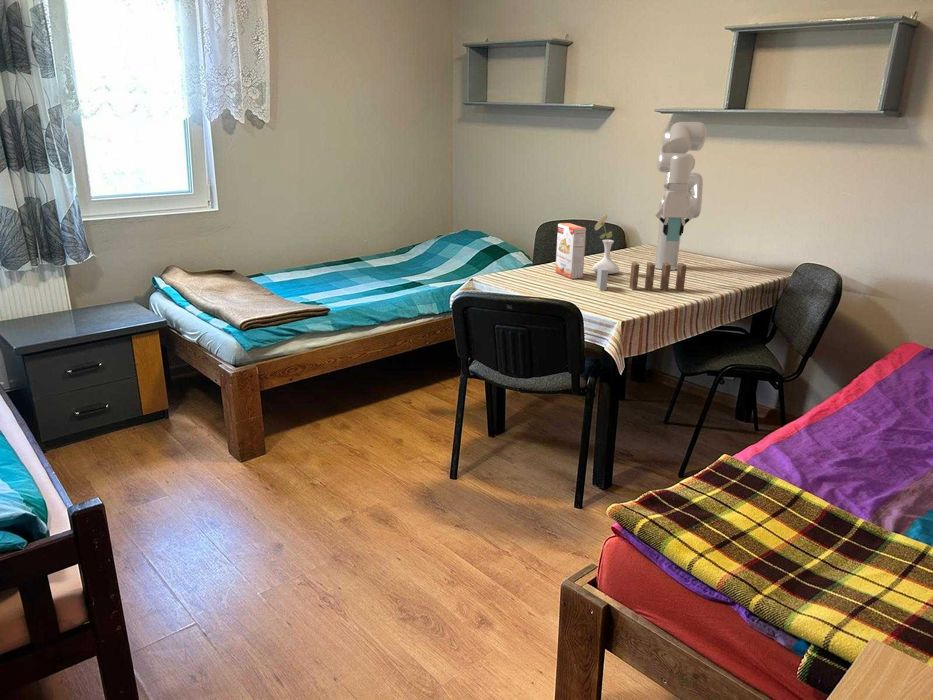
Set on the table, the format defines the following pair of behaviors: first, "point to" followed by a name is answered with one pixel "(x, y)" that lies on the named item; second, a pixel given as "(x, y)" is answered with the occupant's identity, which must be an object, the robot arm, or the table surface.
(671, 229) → the teal block
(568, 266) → the cracker box
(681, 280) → the brown wooden block
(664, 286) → the tile
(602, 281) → the end block
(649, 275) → the tile
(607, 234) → the flower in vase
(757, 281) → the table surface
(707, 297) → the table surface
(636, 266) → the brown wooden block
